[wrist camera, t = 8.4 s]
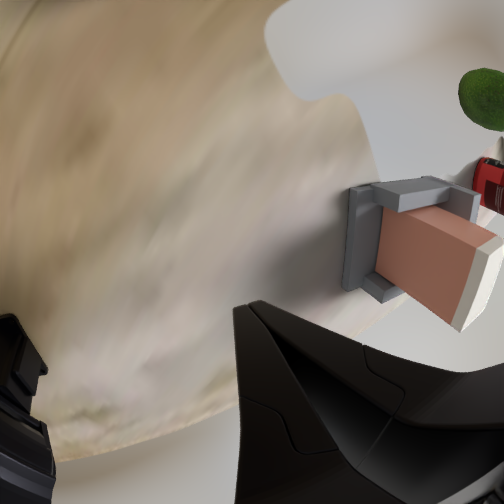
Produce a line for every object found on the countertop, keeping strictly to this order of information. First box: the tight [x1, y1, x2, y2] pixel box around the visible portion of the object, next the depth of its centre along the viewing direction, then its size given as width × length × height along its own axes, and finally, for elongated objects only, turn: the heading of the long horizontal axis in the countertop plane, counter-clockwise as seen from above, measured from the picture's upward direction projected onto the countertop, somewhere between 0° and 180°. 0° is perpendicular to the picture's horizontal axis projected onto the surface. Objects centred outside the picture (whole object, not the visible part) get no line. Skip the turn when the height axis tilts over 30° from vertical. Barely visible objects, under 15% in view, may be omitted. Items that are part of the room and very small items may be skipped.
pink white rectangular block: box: [375, 205, 504, 333], centre depth 21 cm, size 5×7×11 cm
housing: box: [342, 176, 481, 304], centre depth 24 cm, size 13×11×7 cm
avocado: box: [458, 68, 504, 132], centre depth 19 cm, size 8×8×12 cm
